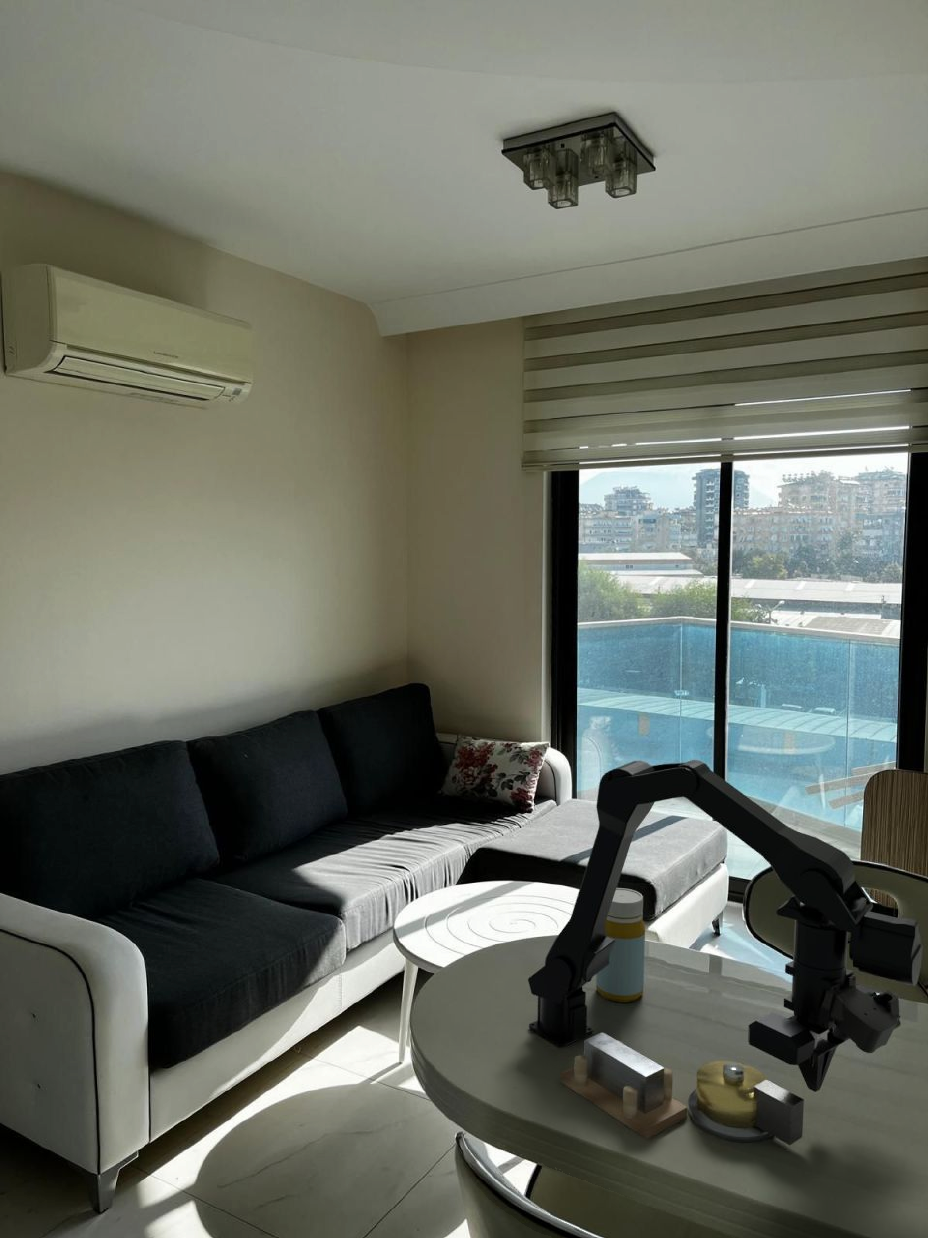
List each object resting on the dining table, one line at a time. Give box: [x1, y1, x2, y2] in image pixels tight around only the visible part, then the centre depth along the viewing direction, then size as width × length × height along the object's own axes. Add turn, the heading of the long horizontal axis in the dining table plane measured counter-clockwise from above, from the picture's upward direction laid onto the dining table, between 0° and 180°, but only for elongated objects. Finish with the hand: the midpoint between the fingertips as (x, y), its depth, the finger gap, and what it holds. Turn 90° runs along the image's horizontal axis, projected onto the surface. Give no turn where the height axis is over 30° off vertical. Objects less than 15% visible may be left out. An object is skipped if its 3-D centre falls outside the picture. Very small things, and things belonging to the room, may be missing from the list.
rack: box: [560, 1039, 688, 1140], centre depth 112 cm, size 14×8×4 cm, turn 38°
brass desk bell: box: [687, 1062, 772, 1143], centre depth 109 cm, size 10×10×6 cm
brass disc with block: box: [695, 1060, 805, 1146], centre depth 108 cm, size 13×8×4 cm
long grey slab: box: [583, 1032, 665, 1114], centre depth 112 cm, size 10×3×4 cm, turn 38°
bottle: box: [595, 887, 646, 1003], centre depth 139 cm, size 7×7×15 cm
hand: (813, 1089), depth 108 cm, fingers closed
